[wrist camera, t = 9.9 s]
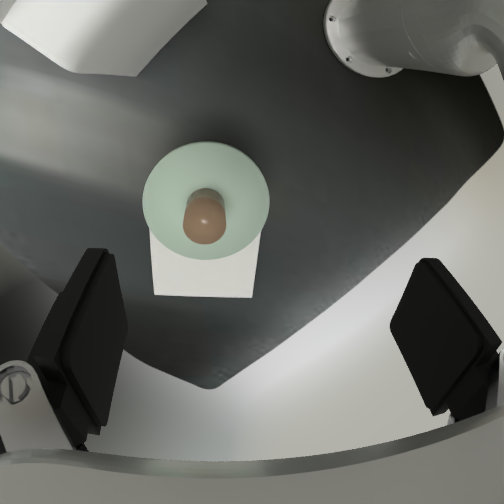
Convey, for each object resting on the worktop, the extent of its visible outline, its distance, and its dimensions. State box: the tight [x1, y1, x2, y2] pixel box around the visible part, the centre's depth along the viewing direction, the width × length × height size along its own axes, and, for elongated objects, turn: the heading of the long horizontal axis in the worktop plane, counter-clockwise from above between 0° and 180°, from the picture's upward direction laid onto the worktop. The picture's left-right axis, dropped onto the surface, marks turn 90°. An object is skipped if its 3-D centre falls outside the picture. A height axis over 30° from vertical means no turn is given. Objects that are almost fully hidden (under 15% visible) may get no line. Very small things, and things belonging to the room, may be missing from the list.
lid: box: [143, 141, 269, 260], centre depth 29 cm, size 12×12×5 cm
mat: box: [150, 230, 261, 298], centre depth 45 cm, size 15×15×1 cm
